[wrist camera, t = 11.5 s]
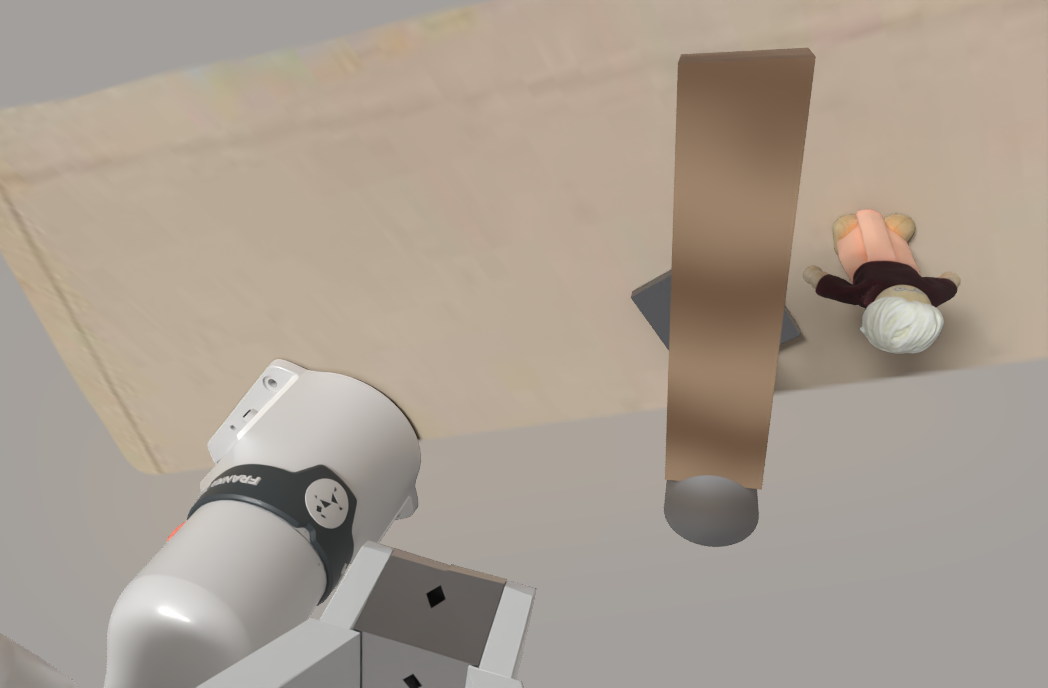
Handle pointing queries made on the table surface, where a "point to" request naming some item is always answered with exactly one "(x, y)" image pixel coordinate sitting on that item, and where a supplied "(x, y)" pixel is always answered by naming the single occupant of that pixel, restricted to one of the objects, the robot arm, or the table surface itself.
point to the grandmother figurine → (885, 282)
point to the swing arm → (729, 278)
